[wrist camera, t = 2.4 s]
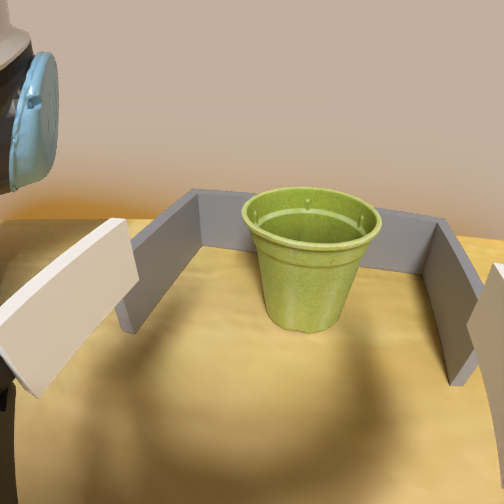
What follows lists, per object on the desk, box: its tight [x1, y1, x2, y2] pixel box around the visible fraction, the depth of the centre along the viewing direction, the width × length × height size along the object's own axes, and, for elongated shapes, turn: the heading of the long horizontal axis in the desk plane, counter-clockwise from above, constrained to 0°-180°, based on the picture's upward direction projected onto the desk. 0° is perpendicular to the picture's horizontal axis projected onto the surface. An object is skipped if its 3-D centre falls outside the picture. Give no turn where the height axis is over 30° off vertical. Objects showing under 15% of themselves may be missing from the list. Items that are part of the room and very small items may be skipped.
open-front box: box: [114, 189, 484, 386], centre depth 24 cm, size 26×15×6 cm, turn 75°
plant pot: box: [241, 187, 382, 333], centre depth 23 cm, size 9×9×9 cm
